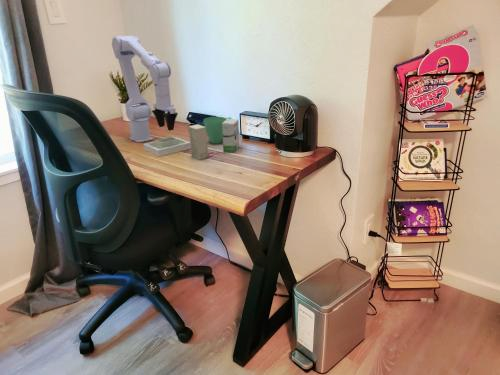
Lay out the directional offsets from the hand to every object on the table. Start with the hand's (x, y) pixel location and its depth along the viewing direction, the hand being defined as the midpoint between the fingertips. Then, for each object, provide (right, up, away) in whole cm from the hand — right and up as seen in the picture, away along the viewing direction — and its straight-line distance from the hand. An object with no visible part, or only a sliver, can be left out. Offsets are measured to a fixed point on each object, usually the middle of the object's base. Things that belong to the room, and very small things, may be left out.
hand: (166, 128), depth 161 cm
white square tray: (0, -8, +2) cm, 9 cm away
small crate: (0, -8, +2) cm, 8 cm away
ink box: (+27, -9, 0) cm, 28 cm away
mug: (+21, -4, +12) cm, 25 cm away
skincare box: (+15, -13, -8) cm, 21 cm away
